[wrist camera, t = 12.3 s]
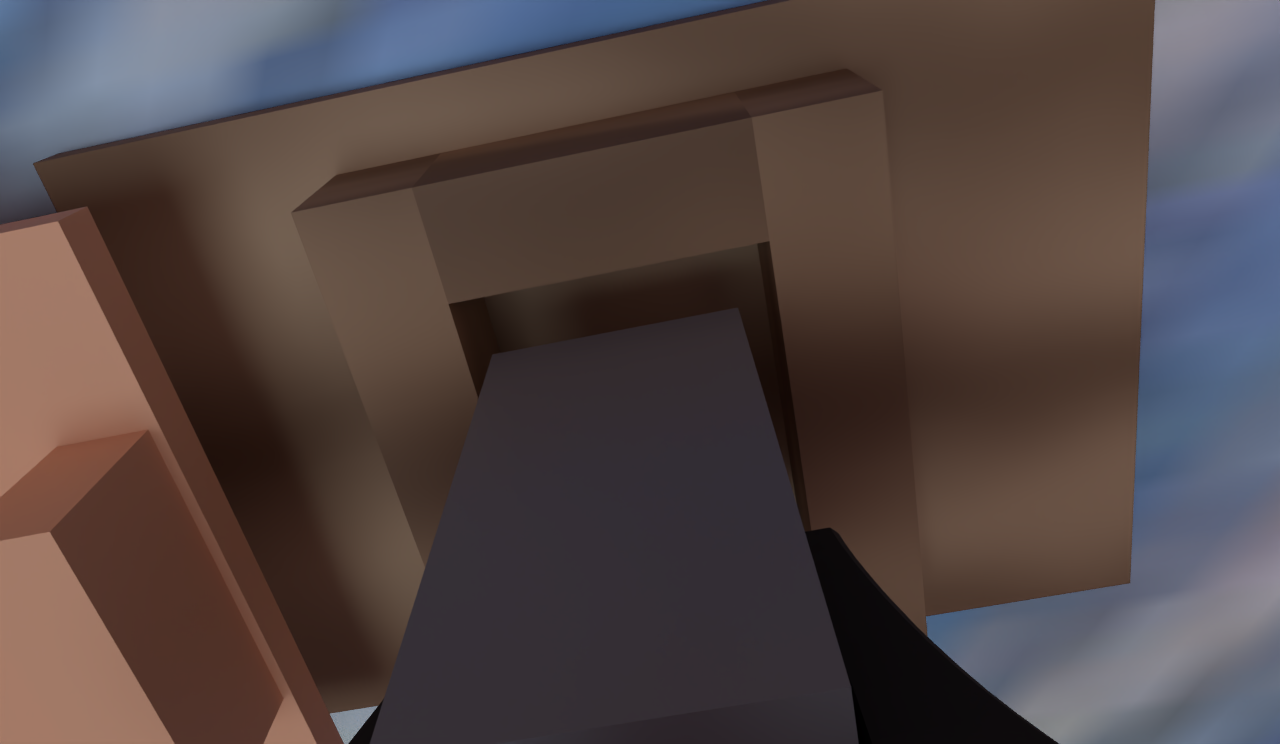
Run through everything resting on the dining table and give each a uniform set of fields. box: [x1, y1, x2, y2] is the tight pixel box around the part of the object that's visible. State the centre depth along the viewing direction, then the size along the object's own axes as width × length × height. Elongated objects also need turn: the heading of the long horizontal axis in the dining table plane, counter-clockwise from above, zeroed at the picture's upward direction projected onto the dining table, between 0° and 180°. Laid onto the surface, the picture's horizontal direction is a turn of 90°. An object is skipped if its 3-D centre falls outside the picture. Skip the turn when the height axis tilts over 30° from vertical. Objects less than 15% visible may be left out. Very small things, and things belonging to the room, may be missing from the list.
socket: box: [33, 0, 1155, 713], centre depth 18 cm, size 14×20×3 cm
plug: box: [370, 308, 859, 744], centre depth 12 cm, size 6×4×8 cm, turn 11°
